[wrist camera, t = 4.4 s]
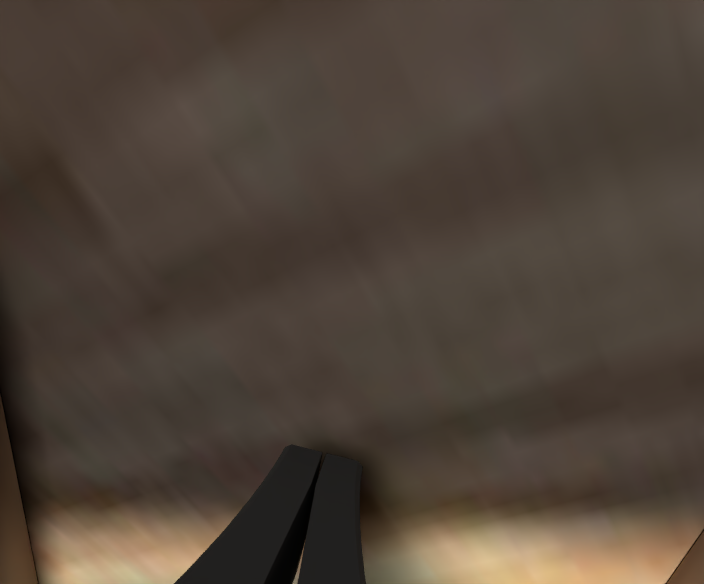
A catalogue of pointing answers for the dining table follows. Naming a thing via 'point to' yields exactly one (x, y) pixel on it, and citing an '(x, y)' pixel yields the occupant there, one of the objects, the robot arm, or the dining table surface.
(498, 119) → the dining table surface
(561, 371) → the dining table surface
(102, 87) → the dining table surface
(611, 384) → the dining table surface
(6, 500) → the tray
